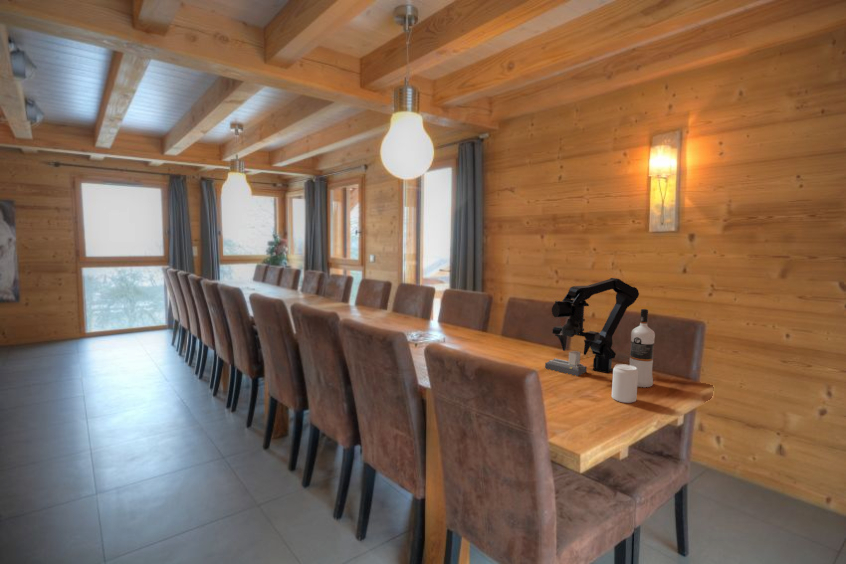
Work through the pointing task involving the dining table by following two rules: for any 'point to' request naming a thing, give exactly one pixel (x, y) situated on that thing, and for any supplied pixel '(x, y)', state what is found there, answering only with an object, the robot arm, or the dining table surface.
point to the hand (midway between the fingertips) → (574, 352)
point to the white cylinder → (624, 383)
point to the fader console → (565, 367)
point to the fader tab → (574, 358)
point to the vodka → (642, 351)
